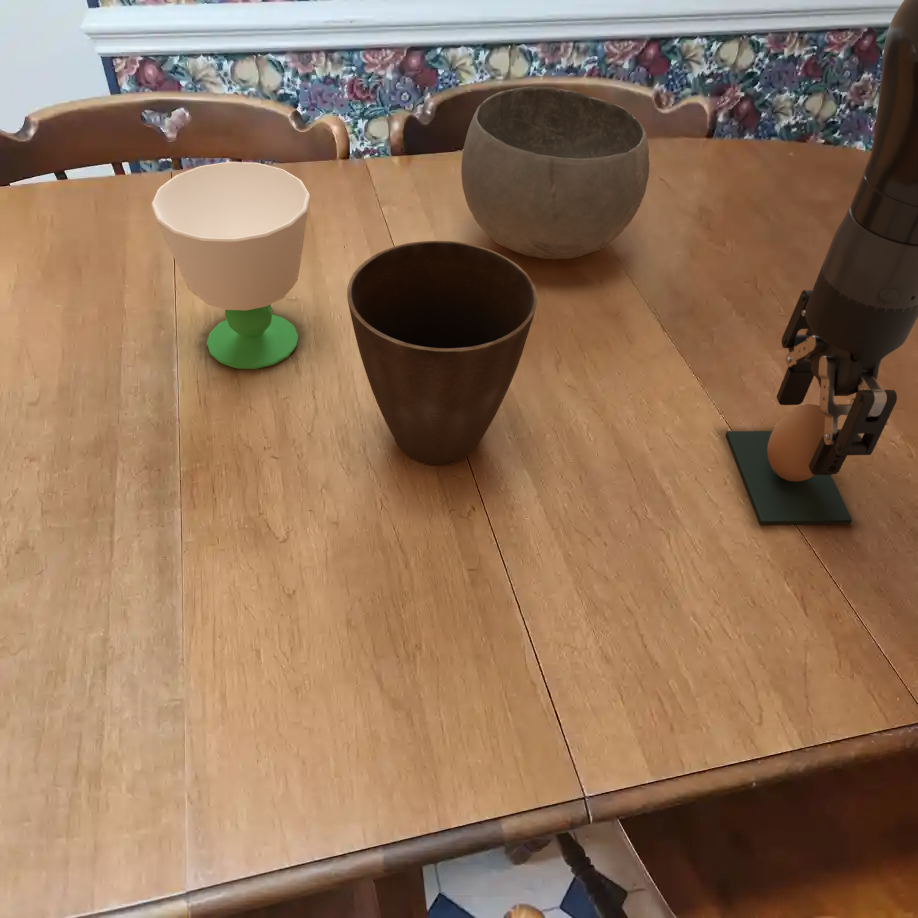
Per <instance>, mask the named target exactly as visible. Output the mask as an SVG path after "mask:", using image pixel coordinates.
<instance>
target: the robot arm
mask: <svg viewBox="0 0 918 918" xmlns="http://www.w3.org/2000/svg"><path fill="white" fill-rule="evenodd" d="M886 32H887V33H886V36H885V40H884V45H883V52H882V60H881V61H882V62H881V73H880V74H881V75H880V86H879V87H880V88H879V96H878V105H877V110H876V117H875V126H874V133H873V140H872V147H871V152H870V155H869V157H868V160H867V163H866V165H865V167H864V170H863V172H862V175H861V177H860V180H859V183H858V185H857V188H856V190H855V193H854V195H853V197H852V200H851V204H850V205H849V207H848V209H847V211H846V213H845V215H844V216H843V218H842V220H841V222H840V223H839V225H838V227H837V229H836V230H835V233H834V234H833V237H832V240H831V242H830V245H829V247H828V250H827V252H826V254H825V257H824V259H823V263H822V264H821V267H820V270H819V272H818V275H817V278H816V280H815V283H814V286H813V288H812V289H804V290H802V291H801V293H800V295H799V297H798V300H797V302H796V304H795V307H794V309H793V311H792V314H791V316H790V319H789V321H788V323H787V326H786V328H785V330H784V332H783V335H782V337H781V346H782V348H783V349H788V353H787V354H786V356H785V364H786V367H787V369H786V371H785V374H784V376H783V379H782V381H781V384H780V386H779V389H778V391H777V394H776V399H777V402H778V404H779V405H781V406H800V405H801V404H802V403H803V402H804V400H805V398H806V396H807V393H808V391H809V390H810V389H809V388H810V387H811V385H812V383H813V380H814V377H815V378H816V379H817V383H818V386H819V388H820V391H819V392H820V393H819V406H820V407H819V409H820V412H821V413H822V414H824V415H825V426H824V437H822V438H821V440H820V443H819V445H818V447H817V449H816V451H815V453H814V455H813V457H812V459H811V462H810V464H809V468H810V471H811V473H812V474H813V475H831V476H833V475H837V474H838V473H840V470H841V469H842V467H843V465H844V462H845V461H846V459H847V457H848V456H871V455H872V454H873V452H874V450H875V448H876V446H877V444H878V442H879V439H880V437H881V436H882V433H883V431H884V429H885V427H886V425H887V423H888V421H889V418H890V416H891V414H892V413H893V410H894V408H895V406H896V404H897V400H898V395H897V392H896V390H895V389H882V387H881V385H880V384H879V383H878V381H877V379H878V377H879V370H880V367H881V366H880V365H881V362H882V360H883V359H884V358H885V357H887V356H888V355H890V354H891V353H893V352H894V351H896V350H898V349H899V348H901V346H903V345H904V343H905V342H906V341H907V339H908V337H909V335H910V333H911V331H912V329H913V327H914V325H915V323H916V322H917V319H918V0H902V2H901V4H899V7H898V9H897V10H896V12H895V13H894V15H893V17H892V18H891V21H890V24H889V26H888V28H887V31H886ZM801 330H806V332H805V334H798V333H799V331H801ZM854 394H855V397H854V398H851V399H850V401H849V403H846V404H845V403H839V404H837V403H836V402H835V397H848V396H853V395H854ZM841 416H846V418H845V420H844V423H843V424H842V426H841V429H840V428H839V429H838V427H839V418H840V417H841ZM862 435H863V436H862Z"/></svg>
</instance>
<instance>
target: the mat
mask: <svg viewBox="0 0 918 918" xmlns="http://www.w3.org/2000/svg"><path fill="white" fill-rule="evenodd" d="M772 431H773V430H752V431H751V430H750V431H749V430H736V431H735V430H732V431H731V430H730V431H728V430H727V431H726V433H725V437H726V440H727V442H728V445H729V448H730V451H731V453H732V456H733V458H734V461H735V463H736V466H737V469H738V471H739V475H740V477H741V480H742V482H743V485H744V487H745V489H746V492H747V495H748V497H749V501H750V502H751V505H752V508H753V510H754V513H755V516H756V518H757V521H758V523H759V525H760V526H763V525H764V526H771V525H772V526H773V525H774V526H775V525H776V526H777V525H778V526H779V525H780V526H781V525H836V524H837V525H841V524H842V525H845V524H846V525H847V524H848V525H849V524H851V523H852V522H853V518H852V516H851V514H850V512H849V509H848V508H847V506H846V504H845V501H844V500H843V498H842V495H841V493H840V491H839V489H838V486H837V484H836V483H835V481H834V479H833V477H832V476H833V475H815V476H813V477H811V478H809V479H806V480H803V481H795V482H794V481H787V480H785V479H783V478H781V477H779V476H778V475H777V474H776V473H775V471H774V470H773V469H772V468H771V465H770V463H769V459H768V452H767V448H768V442H769V439H770V436H771V433H772Z"/></svg>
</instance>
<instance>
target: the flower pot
mask: <svg viewBox="0 0 918 918" xmlns="http://www.w3.org/2000/svg"><path fill="white" fill-rule="evenodd" d="M346 299H347V303H348V304H347V305H348V309H349V313H350V317H351V322H352V327H353V332H354V336H355V340H356V344H357V347H358V351H359V355H360V358H361V362H362V364H363V369H364V371H365V374H366V377H367V380H368V383H369V386H370V388H371V391H372V394H373V396H374V399H375V401H376V404H377V406H378V408H379V411H380V414H381V416H382V418H383V419H384V422H385V424H386V425H387V428H388V430H389V431H390V433H391V435H392V437H393V439H394V441H395V443H396V445H397V446H398V448H399V449H400V451H401V452H402V453H403V454H404V455H405V456H406V457H408V458H409V459H411V460H413V461H415V462H417V463H420V464H423V465H427V466H431V467H433V466H435V467H442V466H443V467H444V466H450V465H453V464H457V463H459V462H462V461H464V460H465V459H466V458H468V457H469V456H471V454H473V452H474V451H475V449H476V448H477V447H478V445H479V443H480V442H481V440H482V439H483V437H484V436H485V434H486V433H487V431H488V429H489V428H490V426H491V424H492V422H493V421H494V418H495V416H496V415H497V413H498V411H499V409H500V407H501V405H502V403H503V401H504V399H505V397H506V394H507V393H508V390H509V388H510V386H511V383H512V381H513V378H514V376H515V374H516V371H517V368H518V366H519V364H520V361H521V358H522V355H523V352H524V349H525V346H526V343H527V339H528V336H529V333H530V329H531V326H532V323H533V320H534V317H535V312H536V309H537V306H538V294H537V289H536V287H535V284H534V281H532V278H531V277H530V276H529V275H528V273H527V272H526V271H525V270H524V268H522V267H521V266H519V265H518V264H517V263H516V262H514V261H513V260H511V259H510V258H508V257H506V256H505V255H503V254H501V253H498V252H496V251H494V250H491V249H488V248H485V247H483V246H479V245H475V244H471V243H465V242H461V241H452V240H451V241H450V240H423V241H414V242H407V243H403V244H399V245H395V246H392V247H389V248H387V249H384V250H382V251H379V252H377V253H376V254H374V255H372V256H370V257H369V258H368V259H366V260H364V261H363V262H362V263H361V264H360V265H359V266H357V268H356V269H355V270H354V271H353V273H352V274H351V277H350V279H349V281H348V284H347V289H346Z"/></svg>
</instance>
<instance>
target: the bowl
mask: <svg viewBox="0 0 918 918" xmlns="http://www.w3.org/2000/svg"><path fill="white" fill-rule="evenodd" d="M648 141H649V140H648V137H647V133H646V131H645V128H644V126H643V125H642V123H641V122H640V121H639V119H638V118H636V117H635V116H634V114H633V113H632V112H631V111H629V110H628V109H626V108H625V107H622V106H620V105H619V104H616V103H614V102H611V101H607V100H604V99H601V98H597V97H594V96H592V95H589V94H586V93H585V92H580V91H576V90H571V89H568V90H566V89H564V88H558V87H555V86H554V87H553V86H537V85H534V86H524V87H516V88H511V89H507V90H502V91H498V92H496V93H494V94H492V95H490V96H489V97H486V98H485V99H484V101H482V102H481V103H480V104H479V106H477V108H476V109H475V112H474V114H473V117H472V118H471V122H470V124H469V126H468V129H467V133H466V136H465V140H464V144H463V149H462V156H461V166H460V167H461V168H460V169H461V172H460V173H461V185H462V186H461V187H462V190H463V194H464V198H465V201H466V204H467V207H468V209H469V211H470V214H471V215H472V216H473V219H474V220H475V221H476V223H477V224H478V226H479V227H480V228H481V230H483V231H484V233H485V234H486V235H487V236H488V237H489V238H490V239H491V240H492V241H494V242H495V243H496V244H498V245H500V246H502V247H503V248H506V249H508V250H510V251H513V252H515V253H517V254H520V255H523V256H526V257H530V258H536V259H541V260H542V259H543V260H544V259H545V260H567V259H575V258H580V257H582V256H586V255H589V254H592V253H594V252H597V251H599V250H601V249H603V248H605V247H606V246H608V245H609V244H610V243H612V242H613V241H615V239H616V238H618V237H619V236H620V235H621V234H622V233H623V232H624V230H625V229H626V228H627V227H628V226H629V225H630V223H631V222H632V220H633V219H634V218H635V216H636V214H637V212H638V211H639V208H640V207H641V205H642V202H643V200H644V198H645V194H646V190H647V185H648V181H649V175H650V155H649V154H650V147H649V142H648Z"/></svg>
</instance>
